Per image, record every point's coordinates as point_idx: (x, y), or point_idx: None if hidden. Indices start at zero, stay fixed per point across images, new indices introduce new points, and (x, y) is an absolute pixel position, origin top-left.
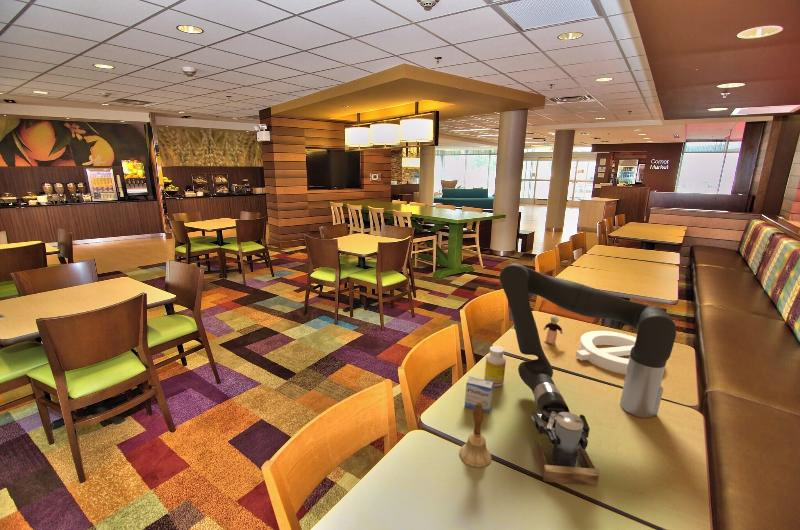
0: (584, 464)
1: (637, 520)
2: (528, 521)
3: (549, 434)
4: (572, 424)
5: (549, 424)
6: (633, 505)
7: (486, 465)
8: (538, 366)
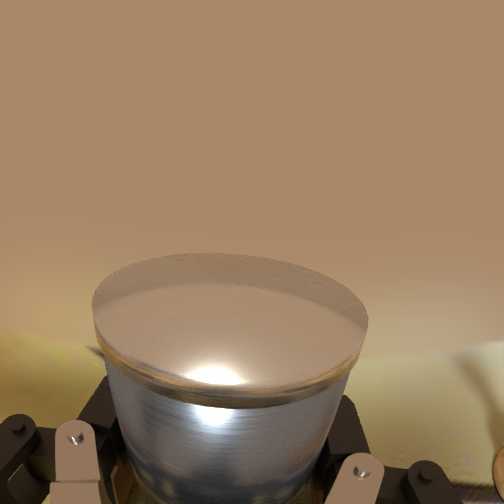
0: (122, 489)
1: None
2: (370, 361)
3: (359, 427)
4: (230, 269)
5: (359, 500)
6: (82, 376)
7: (497, 456)
8: None
